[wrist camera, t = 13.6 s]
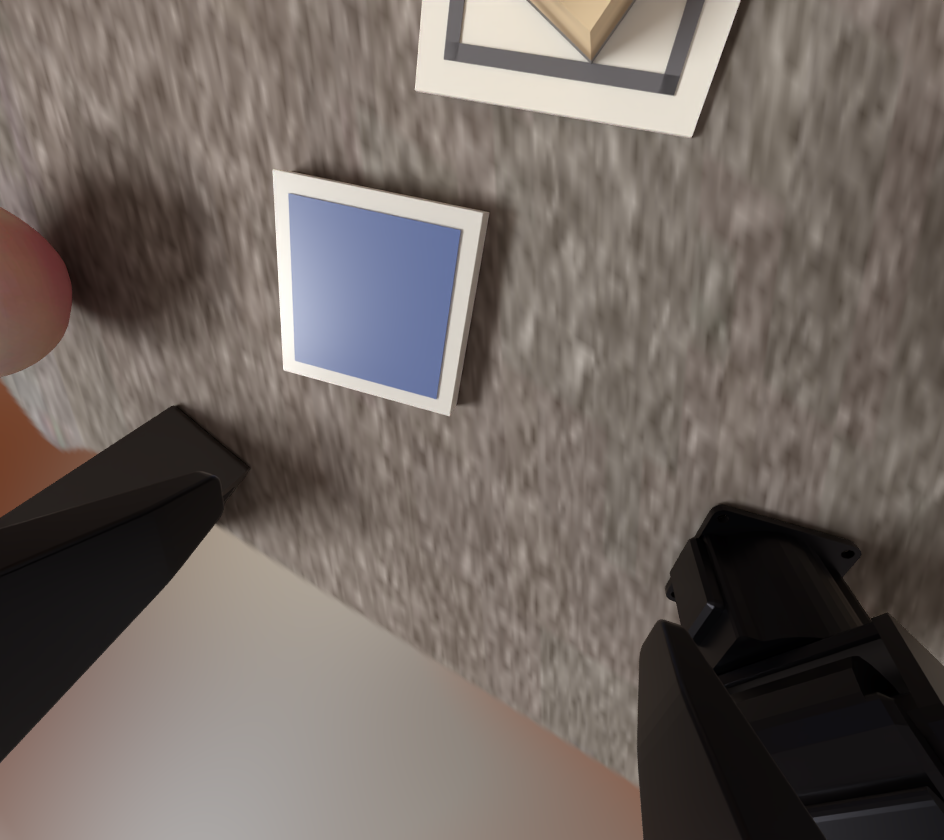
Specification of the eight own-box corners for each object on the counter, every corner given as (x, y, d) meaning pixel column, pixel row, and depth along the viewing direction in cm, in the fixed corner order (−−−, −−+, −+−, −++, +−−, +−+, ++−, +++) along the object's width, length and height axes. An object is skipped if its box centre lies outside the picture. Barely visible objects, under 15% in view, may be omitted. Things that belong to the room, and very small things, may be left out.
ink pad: (489, 212, 17) (482, 212, 16) (456, 405, 22) (449, 417, 20) (290, 171, 18) (270, 169, 17) (297, 362, 23) (282, 370, 22)
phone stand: (176, 403, 26) (-91, 532, 16) (252, 467, 27) (46, 628, 17) (137, 477, 31) (-93, 616, 20) (204, 530, 32) (16, 689, 21)
